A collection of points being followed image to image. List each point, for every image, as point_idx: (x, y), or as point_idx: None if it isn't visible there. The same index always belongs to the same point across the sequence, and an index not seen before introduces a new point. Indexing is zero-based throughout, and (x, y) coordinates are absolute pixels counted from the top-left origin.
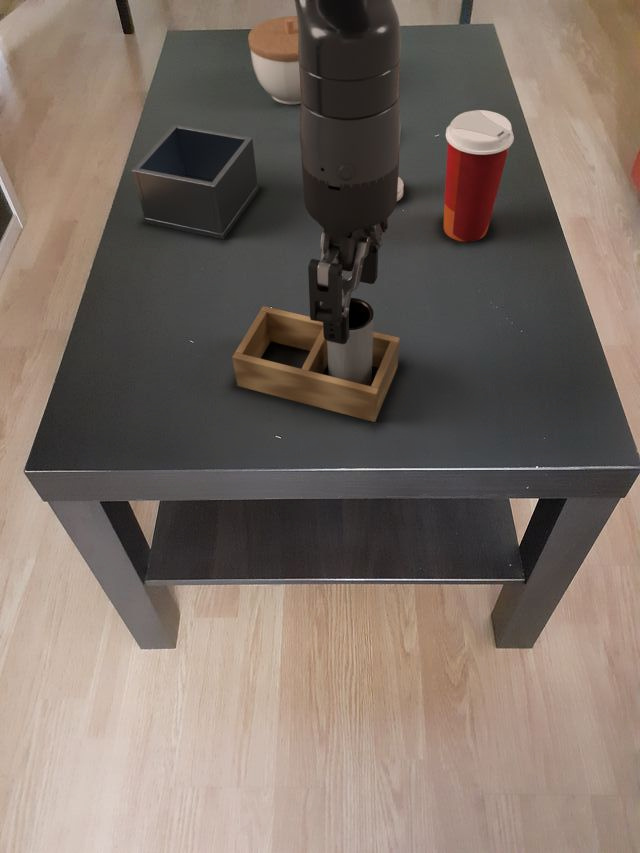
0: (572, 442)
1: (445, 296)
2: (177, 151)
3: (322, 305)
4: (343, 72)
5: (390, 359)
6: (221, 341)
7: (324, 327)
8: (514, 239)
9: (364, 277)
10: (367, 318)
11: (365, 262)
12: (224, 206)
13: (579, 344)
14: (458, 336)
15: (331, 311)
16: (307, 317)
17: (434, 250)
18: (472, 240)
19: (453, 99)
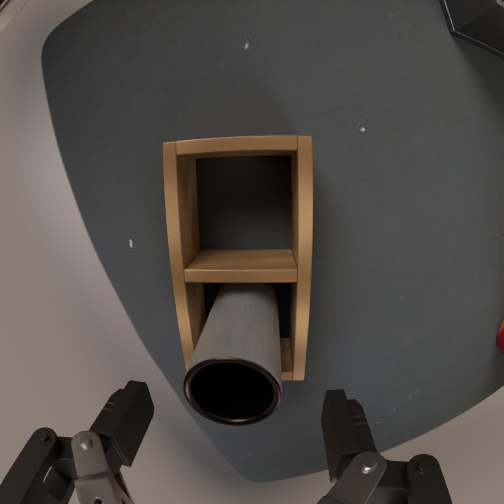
0: (252, 465)
1: (426, 352)
2: None
3: (59, 460)
4: None
5: None
6: (263, 83)
7: (100, 412)
8: (492, 372)
9: (325, 413)
10: (259, 398)
11: (330, 447)
12: (485, 26)
13: None
14: (364, 384)
15: (57, 472)
16: (309, 233)
17: (490, 312)
18: (497, 342)
19: None
